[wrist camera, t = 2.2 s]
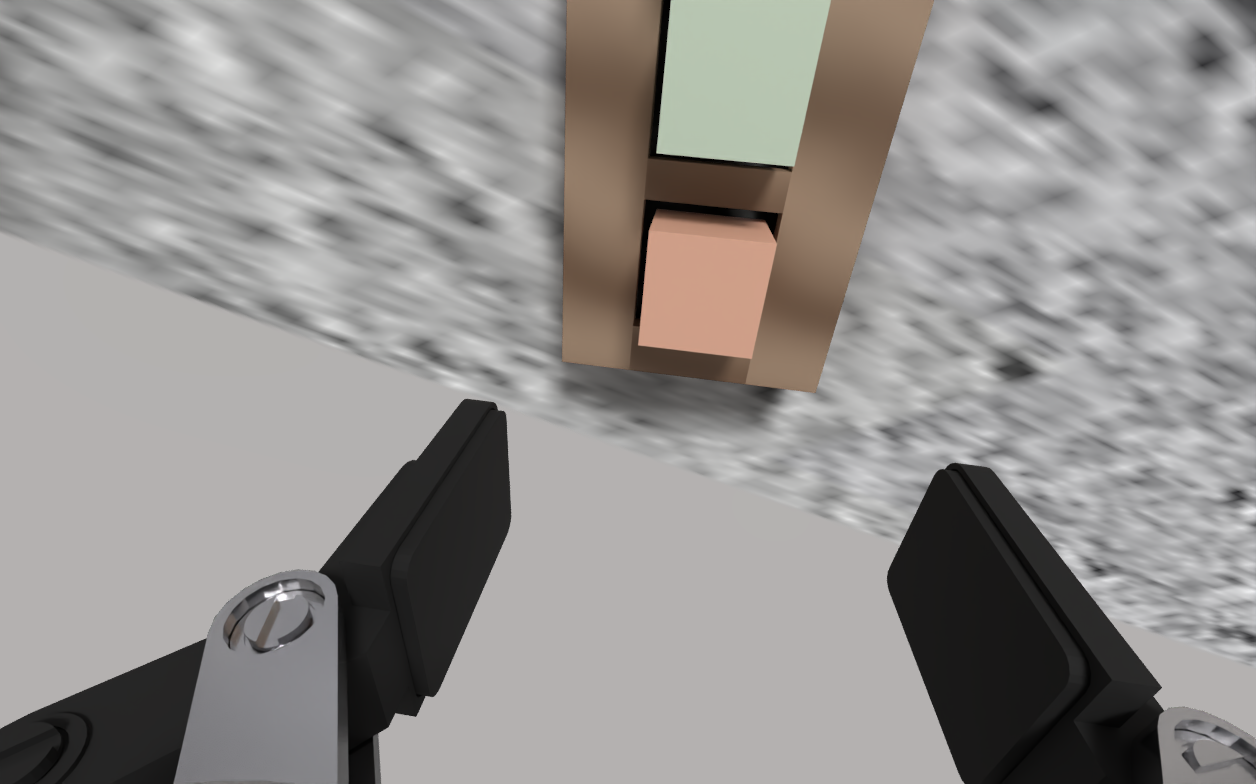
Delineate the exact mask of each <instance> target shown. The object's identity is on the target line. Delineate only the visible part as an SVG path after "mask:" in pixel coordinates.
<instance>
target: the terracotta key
mask: <svg viewBox="0 0 1256 784" xmlns="http://www.w3.org/2000/svg"><path fill="white" fill-rule="evenodd" d="M776 247H777V243H776V241H775V239H774V237H773V235H772V233H771V231H770V229H769V227H768V225H767V224H766V222H765V220H761V219H751V218H741V217H732V216H722V215H712V214H703V213H693V212H683V211H674V210H664V209H657V210H656V213H655V216H654V218H653V221H652V224H651V227H650V229H649V237H648V247H647V258H646V268H645V279H644V290H643V300H642V311H641V321H640V332H639V342H638V345H640V346H649V347H657V348H665V349H673V350H682V351H690V352H698V353H707V354H715V355H723V356H732V357H740V358H748V359H752V355H753V351H754V346H755V342H756V337H757V333H758V328H759V324H760V319H761V315H762V310H763V306H764V301H765V297H766V292H767V287H768V283H769V278H770V274H771V269H772V265H773V260H774V256H775V251H776Z"/></svg>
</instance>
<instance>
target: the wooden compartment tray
mask: <svg viewBox="0 0 1256 784" xmlns="http://www.w3.org/2000/svg"><path fill="white" fill-rule="evenodd" d="M663 3H664V0H567V24H566V102H565V180H564V258H563V336H562V362H570V363H578V364H586V365H594V366H602V367H610V368H618V369H626V370H634V371H642V372H650V373H659V374H667V375H675V376H683V377H691V378H699V379H707V380H715V381H723V382H731V383H739V384H748V385H756V386H764V387H772V388H780V389H788V390H796V391H804V392H812V393H816V389H817V386H818V383H819V379H820V376H821V373H822V369H823V366H824V363H825V359H826V356H827V353H828V350H829V346H830V343H831V340H832V336H833V333H834V330H835V326H836V323H837V320H838V316H839V313H840V310H841V307H842V303H843V300H844V297H845V293H846V290H847V287H848V283H849V280H850V277H851V274H852V270H853V267H854V264H855V260H856V257H857V254H858V250H859V247H860V244H861V240H862V237H863V234H864V231H865V227H866V224H867V221H868V217H869V214H870V211H871V207H872V204H873V201H874V198H875V194H876V191H877V188H878V184H879V181H880V178H881V174H882V171H883V168H884V164H885V161H886V158H887V155H888V151H889V148H890V145H891V141H892V138H893V135H894V131H895V128H896V125H897V122H898V118H899V115H900V112H901V108H902V105H903V102H904V98H905V95H906V92H907V88H908V85H909V82H910V79H911V75H912V72H913V69H914V65H915V62H916V59H917V55H918V52H919V49H920V46H921V42H922V39H923V36H924V32H925V29H926V26H927V22H928V19H929V16H930V12H931V9H932V6H933V3H934V0H831V3H830V7H829V12H828V16H827V21H826V25H825V30H824V34H823V39H822V43H821V48H820V52H819V57H818V61H817V66H816V71H815V75H814V80H813V84H812V89H811V93H810V98H809V102H808V107H807V111H806V116H805V120H804V125H803V129H802V134H801V138H800V143H799V147H798V152H797V156H796V161H795V165H794V167H793V166H789V167H788V169H781V168H770V167H760V166H749V165H739V164H729V163H718V162H708V161H698V160H687V159H677V158H667V157H656V156H650V148H651V137H652V126H653V115H654V103H655V92H656V81H657V70H658V59H659V47H660V36H661V25H662V14H663ZM646 200H656V201H665V202H675V203H685V204H695V205H705V206H714V207H724V208H734V209H744V210H754V211H763V212H773V213H778V218H777V222H776V227H775V231H774V236H773V237H774V239H775V241H776V243H777V247H776V251H775V256H774V260H773V265H772V269H771V274H770V278H769V283H768V287H767V292H766V297H765V301H764V306H763V310H762V315H761V319H760V324H759V328H758V333H757V337H756V342H755V346H754V351H753V355H752V359H748V358H740V357H732V356H723V355H715V354H707V353H698V352H690V351H682V350H673V349H665V348H657V347H649V346H640V345H638V342H639V332H640V321H641V319H639V318H635V316H636V305H637V294H638V283H639V271H640V260H641V249H642V238H643V227H644V215H645V204H646Z"/></svg>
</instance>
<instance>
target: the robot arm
mask: <svg viewBox="0 0 1256 784" xmlns="http://www.w3.org/2000/svg"><path fill="white" fill-rule="evenodd" d="M510 522H511V501H510V481H509V461H508V441H507V421H506V414H505V412H504V411H498V409H497V405H496V404H495V403H494V402H488V401H480V400H472V399H464V400H463V401H462V402H461V403H460V405H459V406H458V407H457V409H456V410H455V411H454V412H453V414H452V415H451V417H450V418H449V419H448V420H447V421H446V423H445V424H444V425H443V427H442V428H441V429H440V431H439V432H438V433H437V434H436V436H435V437H434V438H433V440H432V441H431V442H430V444H429V445H428V446H427V447H426V449H425V450H424V451H423V453H422V454H421V455H420V456H419V458H418V459H417V460H412V461H409V462H407V463H406V464H405V465H404V466H403V467H402V468H401V469H400V470H399V472H398V473H397V474H396V475H395V477H394V478H393V479H392V480H391V482H390V483H389V484H388V485H387V487H386V488H385V489H384V491H383V492H382V493H381V494H380V496H379V497H378V498H377V499H376V501H375V502H374V503H373V504H372V505H371V507H370V508H369V509H368V510H367V512H366V513H365V514H364V515H363V517H362V518H361V519H360V521H359V522H358V523H357V524H356V526H355V527H354V528H353V529H352V531H351V532H350V533H349V534H348V536H347V537H346V538H345V540H344V541H343V542H342V543H341V544H340V546H339V547H338V548H337V550H336V551H335V552H334V553H333V554H332V556H331V557H330V558H329V559H328V561H327V562H326V563H325V564H324V566H323V567H322V568H321V569H320V571H319V572H316V571H310V570H293V571H286V572H280V573H277V574H275V575H272V576H269V577H266V578H263V579H261V580H259V581H257V582H255V583H253V584H252V585H250V586H248V587H246V588H244V589H243V590H242V591H240V592H239V593H238V594H237V595H235V596H234V597H233V598H232V599H231V600H230V601H228V602H227V603H226V604H225V605H224V607H223V608H222V609H221V610H220V612H219V613H218V614H217V615H216V616H215V618H214V620H213V623H212V625H211V628H210V630H209V632H208V635H207V638H206V639H204V640H201V641H199V642H197V643H194V644H192V645H190V646H187V647H185V648H183V649H180V650H178V651H176V652H173V653H171V654H169V655H166V656H164V657H162V658H159V659H157V660H154V661H152V662H150V663H147V664H145V665H143V666H140V667H138V668H136V669H133V670H131V671H129V672H126V673H124V674H122V675H119V676H117V677H114V678H112V679H110V680H108V681H105V682H103V683H100V684H98V685H96V686H93V687H91V688H89V689H86V690H84V691H82V692H79V693H77V694H75V695H72V696H70V697H68V698H65V699H63V700H60V701H58V702H56V703H53V704H51V705H49V706H46V707H44V708H42V709H39V710H37V711H35V712H32V713H30V714H28V715H26V716H24V717H22V718H20V719H18V720H16V721H14V722H12V723H11V724H9V725H7V726H5V727H3V728H1V729H0V784H381V773H380V758H379V740H378V733H379V732H381V731H383V730H384V729H386V728H388V727H389V725H390V723H391V721H392V719H393V717H394V715H395V713H398V714H404V715H409V716H415V717H416V716H417V714H418V712H419V710H420V707H421V705H422V703H423V701H424V698H425V696H430V697H434V696H435V695H436V694H437V692H438V691H439V689H440V687H441V684H442V682H443V680H444V677H445V675H446V673H447V671H448V668H449V666H450V664H451V661H452V659H453V657H454V654H455V652H456V650H457V648H458V645H459V643H460V641H461V639H462V636H463V634H464V632H465V629H466V627H467V625H468V623H469V620H470V618H471V616H472V613H473V611H474V609H475V606H476V604H477V602H478V600H479V597H480V595H481V593H482V591H483V588H484V586H485V584H486V581H487V579H488V577H489V575H490V572H491V570H492V568H493V565H494V563H495V561H496V558H497V556H498V554H499V552H500V549H501V547H502V545H503V542H504V540H505V538H506V536H507V533H508V530H509V527H510ZM887 583H888V589H889V592H890V595H891V597H892V600H893V602H894V605H895V608H896V610H897V613H898V616H899V618H900V621H901V623H902V626H903V629H904V631H905V634H906V637H907V639H908V642H909V644H910V647H911V650H912V652H913V655H914V657H915V660H916V662H917V665H918V668H919V671H920V673H921V676H922V678H923V681H924V684H925V686H926V689H927V691H928V694H929V697H930V699H931V702H932V705H933V707H934V709H935V712H936V715H937V717H938V720H939V723H940V726H941V728H942V731H943V733H944V736H945V739H946V741H947V744H948V746H949V749H950V752H951V754H952V757H953V760H954V762H955V765H956V767H957V770H958V773H959V775H960V777H961V779H962V781H963V782H964V783H965V784H1256V739H1255V738H1254V737H1253V736H1251V735H1250V734H1248V733H1246V732H1244V731H1243V730H1241V729H1239V728H1238V727H1236V726H1234V725H1233V724H1231V723H1229V722H1227V721H1225V720H1223V719H1221V718H1218V717H1216V716H1214V715H1211V714H1209V713H1207V712H1204V711H1200V710H1196V709H1191V708H1187V707H1174V708H1168V709H1167V710H1165V711H1164V710H1163V709H1162V707H1161V706H1160V705H1159V703H1158V702H1157V701H1156V699H1155V698H1154V697H1153V696H1154V695H1155V694H1156V693H1157V692H1158V691H1159V690H1160V689H1161V688H1162V687H1161V686H1160V684H1159V683H1158V682H1157V681H1156V679H1155V678H1154V677H1153V675H1152V674H1151V673H1150V672H1149V671H1148V669H1147V668H1146V666H1145V665H1144V664H1143V663H1142V661H1141V660H1140V659H1139V657H1138V656H1137V655H1136V654H1135V653H1134V651H1133V650H1132V649H1131V647H1130V646H1129V645H1128V643H1127V642H1126V641H1125V640H1124V638H1123V637H1122V636H1121V634H1120V633H1119V632H1118V631H1117V629H1116V628H1115V627H1114V625H1113V624H1112V623H1111V622H1110V620H1109V619H1108V618H1107V616H1106V615H1105V614H1104V613H1103V611H1102V610H1101V609H1100V607H1099V606H1098V605H1097V604H1096V602H1095V601H1094V600H1093V598H1092V597H1091V596H1090V595H1089V593H1088V592H1087V591H1086V590H1085V588H1084V587H1083V586H1082V584H1081V583H1080V582H1079V581H1078V579H1077V578H1076V577H1075V575H1074V574H1073V573H1072V572H1071V570H1070V569H1069V568H1068V566H1067V565H1066V564H1065V563H1064V561H1063V560H1062V559H1061V557H1060V556H1059V555H1058V554H1057V552H1056V551H1055V550H1054V548H1053V547H1052V546H1051V545H1050V543H1049V542H1048V541H1047V539H1046V538H1045V537H1044V536H1043V534H1042V533H1041V532H1040V531H1039V529H1038V528H1037V527H1036V525H1035V524H1034V523H1033V522H1032V520H1031V519H1030V518H1029V516H1028V515H1027V514H1026V513H1025V511H1024V510H1023V509H1022V507H1021V506H1020V505H1019V504H1018V502H1017V501H1016V500H1015V498H1014V497H1013V496H1012V495H1011V493H1010V492H1009V491H1008V489H1007V488H1006V487H1005V486H1004V484H1003V483H1002V482H1001V480H1000V479H999V478H998V477H997V475H996V474H995V473H994V472H993V471H992V470H991V469H990V468H987V467H982V466H975V465H967V464H959V463H952V464H950V465H948V466H947V467H946V469H945V470H944V469H941V470H938V471H937V472H936V474H935V475H934V477H933V479H932V481H931V483H930V485H929V487H928V489H927V491H926V493H925V496H924V498H923V500H922V502H921V504H920V506H919V508H918V510H917V512H916V514H915V516H914V518H913V520H912V522H911V524H910V526H909V529H908V531H907V533H906V535H905V537H904V539H903V541H902V543H901V545H900V547H899V549H898V551H897V553H896V555H895V557H894V560H893V562H892V564H891V566H890V568H889V570H888V575H887Z"/></svg>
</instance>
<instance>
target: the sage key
mask: <svg viewBox="0 0 1256 784" xmlns="http://www.w3.org/2000/svg"><path fill="white" fill-rule="evenodd" d="M830 3H831V0H671V5H670V16H669V26H668V37H667V47H666V58H665V68H664V79H663V90H662V100H661V111H660V121H659V132H658V142H657V153H658V154H668V155H679V156H689V157H700V158H710V159H720V160H731V161H741V162H752V163H762V164H772V165H783V166H793V167H794V165H795V161H796V156H797V152H798V147H799V143H800V138H801V134H802V129H803V125H804V120H805V116H806V111H807V107H808V102H809V98H810V93H811V89H812V84H813V80H814V75H815V71H816V66H817V61H818V57H819V52H820V48H821V43H822V39H823V34H824V30H825V25H826V21H827V16H828V12H829V7H830Z"/></svg>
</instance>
